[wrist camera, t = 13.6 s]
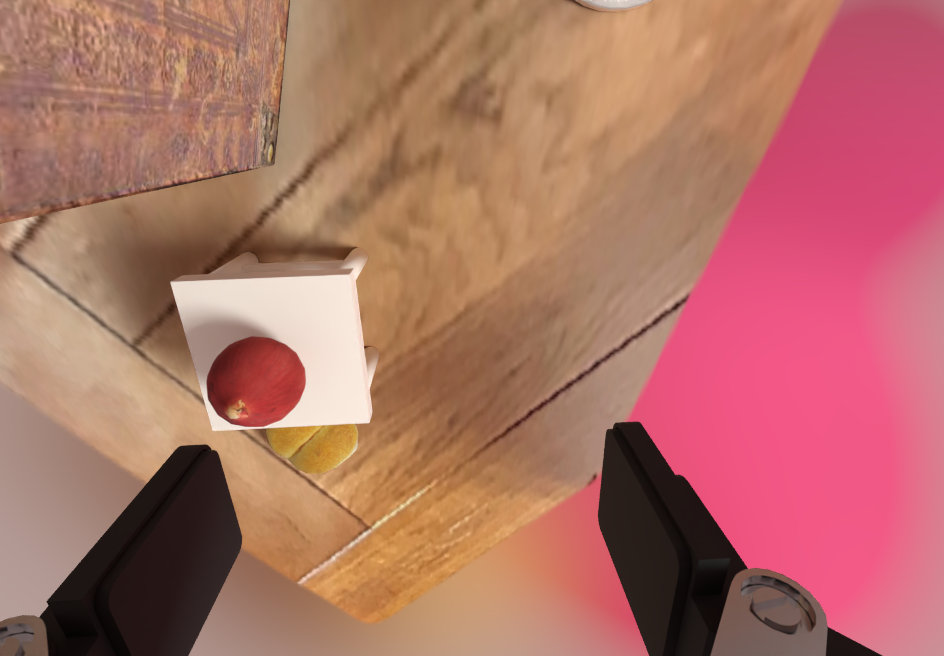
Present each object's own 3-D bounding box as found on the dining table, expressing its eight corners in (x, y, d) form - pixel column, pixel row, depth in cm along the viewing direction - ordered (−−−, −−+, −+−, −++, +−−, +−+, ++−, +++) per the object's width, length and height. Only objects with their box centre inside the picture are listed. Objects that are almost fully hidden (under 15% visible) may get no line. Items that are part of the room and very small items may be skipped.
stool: (371, 242, 41) (349, 274, 32) (384, 364, 46) (369, 423, 37) (232, 247, 41) (170, 281, 32) (260, 370, 46) (213, 431, 36)
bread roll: (307, 372, 46) (295, 393, 43) (373, 429, 49) (367, 453, 45) (252, 420, 48) (235, 444, 44) (318, 472, 51) (308, 499, 47)
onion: (281, 405, 36) (239, 475, 28) (218, 355, 34) (155, 417, 27) (333, 357, 34) (303, 419, 27) (270, 303, 33) (220, 353, 25)
